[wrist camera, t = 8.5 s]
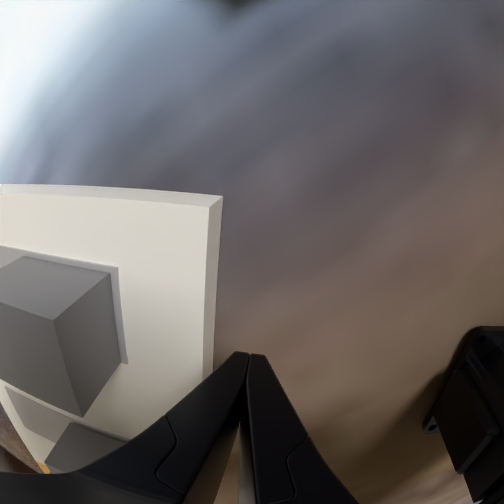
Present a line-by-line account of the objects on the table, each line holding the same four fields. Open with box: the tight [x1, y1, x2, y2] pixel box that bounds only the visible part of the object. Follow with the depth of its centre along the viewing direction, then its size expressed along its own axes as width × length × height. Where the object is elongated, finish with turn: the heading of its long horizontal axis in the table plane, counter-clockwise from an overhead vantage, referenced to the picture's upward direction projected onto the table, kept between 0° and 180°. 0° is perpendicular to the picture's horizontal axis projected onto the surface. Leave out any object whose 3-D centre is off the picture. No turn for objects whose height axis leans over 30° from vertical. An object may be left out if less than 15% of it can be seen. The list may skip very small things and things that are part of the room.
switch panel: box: [0, 184, 223, 474], centre depth 14 cm, size 14×26×2 cm, turn 174°
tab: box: [0, 256, 121, 418], centre depth 8 cm, size 4×4×3 cm
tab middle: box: [44, 422, 125, 474], centre depth 11 cm, size 4×4×3 cm
